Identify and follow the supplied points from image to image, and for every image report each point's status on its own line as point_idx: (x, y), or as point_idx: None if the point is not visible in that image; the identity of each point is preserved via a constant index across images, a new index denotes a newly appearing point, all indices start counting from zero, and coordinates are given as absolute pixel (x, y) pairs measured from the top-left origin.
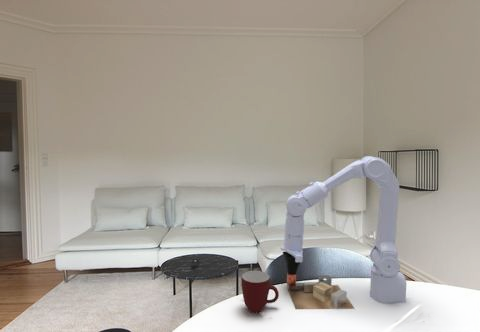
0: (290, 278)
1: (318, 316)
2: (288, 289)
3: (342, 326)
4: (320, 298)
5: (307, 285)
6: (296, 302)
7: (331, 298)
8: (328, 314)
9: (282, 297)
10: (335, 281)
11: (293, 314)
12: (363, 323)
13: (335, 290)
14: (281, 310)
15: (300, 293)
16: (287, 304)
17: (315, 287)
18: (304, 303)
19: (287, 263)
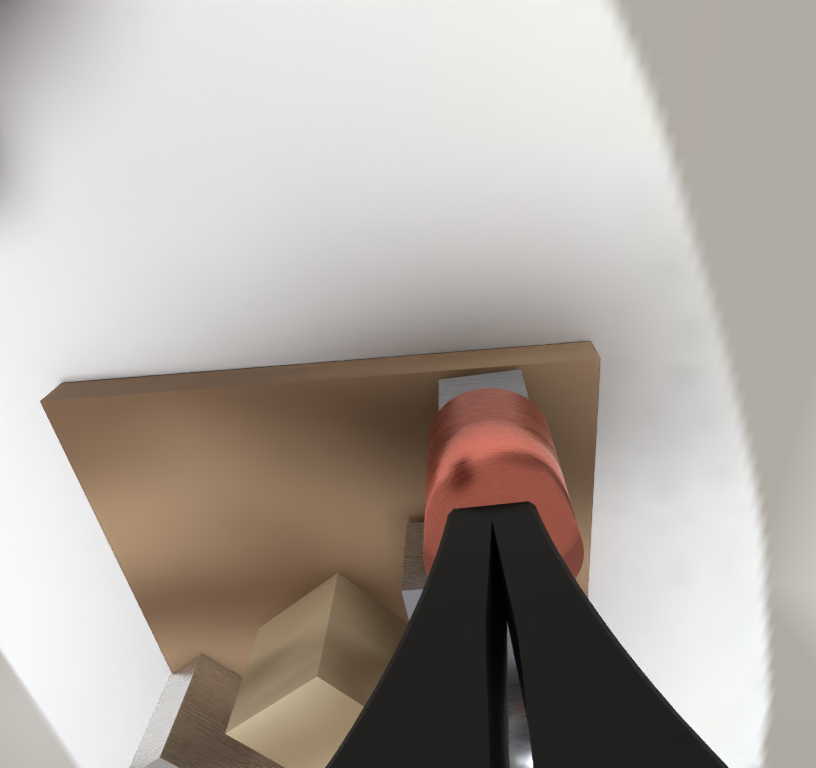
0: (429, 497)
1: (75, 543)
2: (484, 373)
3: (8, 645)
4: (277, 626)
5: (410, 607)
6: (181, 424)
7: (170, 723)
8: (134, 605)
9: (353, 278)
10: (701, 737)
11: (20, 362)
12: (97, 736)
13: None
14: (47, 248)
15: (393, 482)
16: (200, 322)
17: (300, 679)
18: (186, 490)
19: (370, 729)
